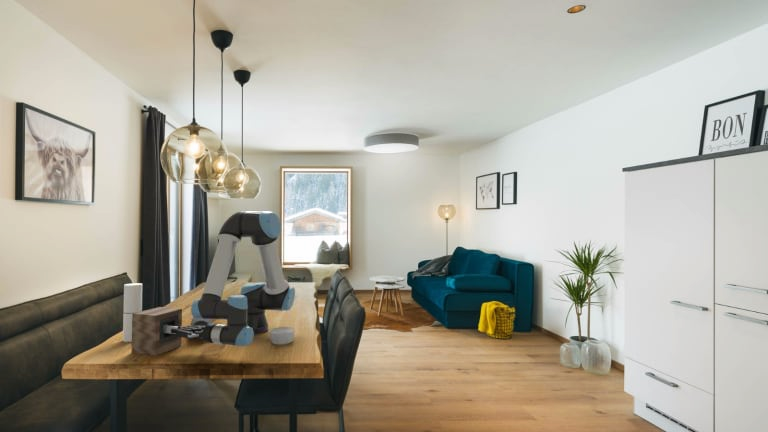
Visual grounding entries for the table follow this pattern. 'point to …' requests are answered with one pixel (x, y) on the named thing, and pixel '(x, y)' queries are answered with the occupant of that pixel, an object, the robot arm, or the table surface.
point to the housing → (155, 330)
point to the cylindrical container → (131, 307)
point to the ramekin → (281, 335)
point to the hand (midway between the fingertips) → (167, 329)
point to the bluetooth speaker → (200, 321)
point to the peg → (165, 328)
